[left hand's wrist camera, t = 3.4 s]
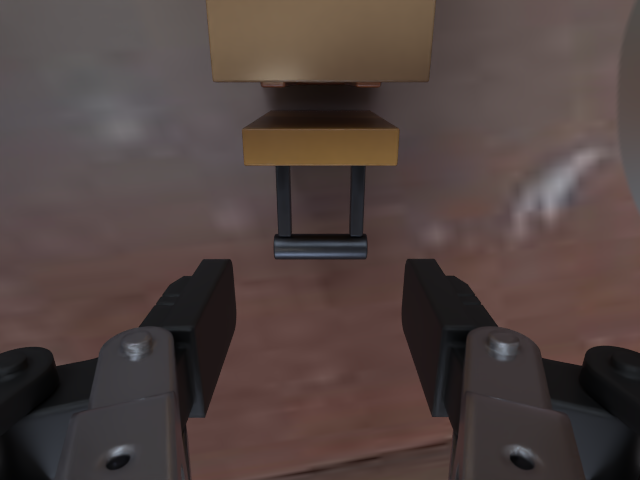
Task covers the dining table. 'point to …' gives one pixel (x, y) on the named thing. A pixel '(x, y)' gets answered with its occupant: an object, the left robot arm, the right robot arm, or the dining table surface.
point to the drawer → (320, 150)
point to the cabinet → (320, 40)
